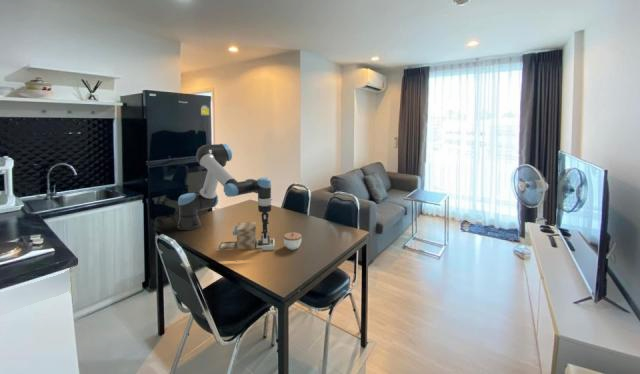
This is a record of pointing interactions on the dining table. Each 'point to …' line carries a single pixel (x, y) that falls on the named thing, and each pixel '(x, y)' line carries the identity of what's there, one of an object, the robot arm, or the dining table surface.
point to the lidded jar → (292, 240)
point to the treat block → (268, 239)
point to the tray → (266, 247)
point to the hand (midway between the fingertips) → (265, 238)
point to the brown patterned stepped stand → (241, 238)
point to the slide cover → (235, 230)
